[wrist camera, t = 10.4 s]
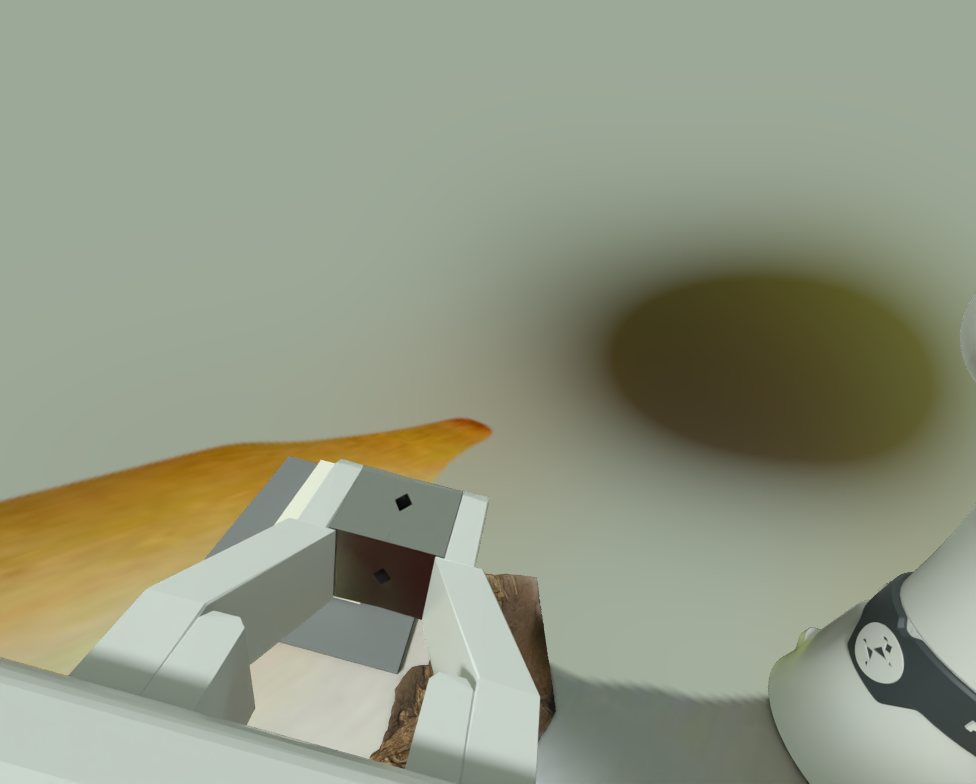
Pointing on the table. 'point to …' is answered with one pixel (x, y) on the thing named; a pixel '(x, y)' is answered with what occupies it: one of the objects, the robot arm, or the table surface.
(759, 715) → the table surface
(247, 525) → the mat
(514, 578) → the wooden fragment
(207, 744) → the robot arm
